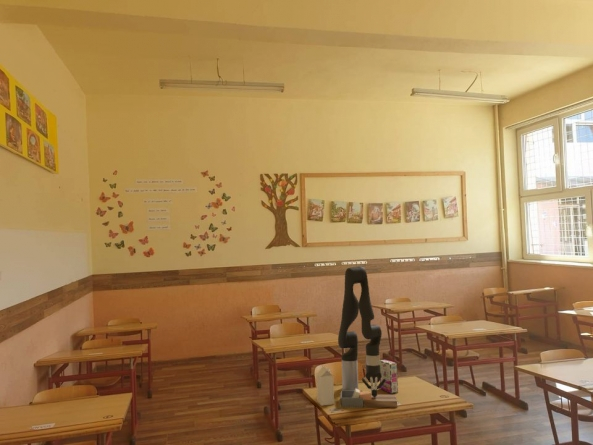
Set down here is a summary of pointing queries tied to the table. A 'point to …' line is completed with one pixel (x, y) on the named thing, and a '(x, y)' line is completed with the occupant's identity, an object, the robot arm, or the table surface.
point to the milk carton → (325, 387)
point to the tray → (350, 399)
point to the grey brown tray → (381, 401)
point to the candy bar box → (389, 376)
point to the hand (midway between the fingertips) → (374, 396)
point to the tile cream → (356, 393)
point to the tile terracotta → (365, 395)
